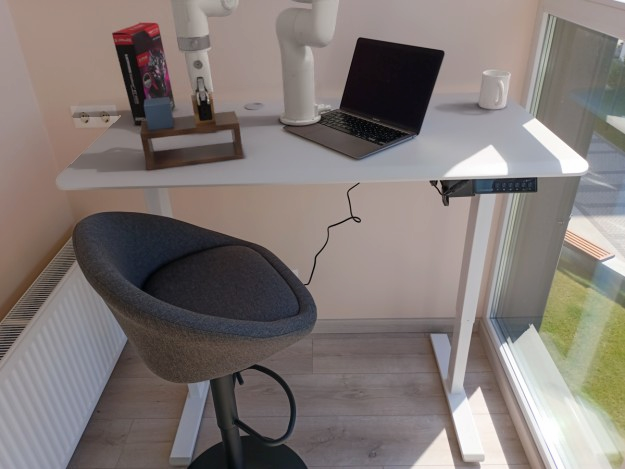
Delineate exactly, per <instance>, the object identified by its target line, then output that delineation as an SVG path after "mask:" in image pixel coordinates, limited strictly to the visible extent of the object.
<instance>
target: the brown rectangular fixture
mask: <svg viewBox="0 0 625 469" xmlns="http://www.w3.org/2000/svg"><path fill="white" fill-rule="evenodd" d="M215 119H216V122H213V123H204V124H196V122H195V116H194V115H185V116H177V117H173V123H174V127H173V128H165V129H156V130H149V129H148V124H147V121H142V123H141V125H140V130H139V135H140V140H141V145H142V150H143V154H144V159H145V162H146V167H147V170H148V171H151V170H159V169H166V168H167V169H168V168H174V167H183V166H184V167H185V166H192V165H200V164H206V163H207V164H208V163H216V162H222V161H223V162H225V161H230V160H239V159H244V154H243V144H242V137H241V128H240V121H239V119H238V116H237V113H236V112H235V110H232V111H224V112H215ZM228 130H229V131H231V140H232V141H230V142H221V143H212V144H205V145H204V144H203V145H197V146H188V147H178V148H170V149H164V150H163V149H162V150H154V145H153V140H154V139H160V138H161V139H162V138H168V137H178V136H186V135H195V134H196V135H197V134H205V133H211V132H221V131H228Z"/></svg>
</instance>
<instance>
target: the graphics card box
mask: <svg viewBox="0 0 625 469" xmlns="http://www.w3.org/2000/svg"><path fill="white" fill-rule="evenodd" d="M111 36H112V39H113V42H114V47H115V52H116V56H117V59H118V63H119V67H120V68H119V69H120V72H121V75H122V80H123V83H124V88H125V91H126V95H127V99H128V103H129V108H130V111H131V115H132V119H133V122H134V125H137V126H139V125H140V126H141V123H142V121H147V120H146V115H145V110H144V101H145V99H154V98H164V97H169V99H170V104H171V110H172V111H173V110H174V109H176V104H175V100H174V93H173V88H172V84H171V79H170V73H169V70H168V64H167V60H166V55H165V54H166V53H165V49H164V44H163V40H162V36H161V30H160V26H159V23H157V22H139V23H137V24H133V25H131V26H128V27H125V28H123V29H120V30H116V31H114V32H112V33H111Z"/></svg>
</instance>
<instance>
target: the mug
mask: <svg viewBox="0 0 625 469" xmlns="http://www.w3.org/2000/svg"><path fill="white" fill-rule="evenodd" d="M511 76H512V74H511V72H509V71H507V70H503V69H487V70H483V71H482V75H481V80H480V81H481V82H480V89H479V95H478V106H479V107H480V108H482V109H485V110H494V111H496V110H502V109H503V108H505V107H506V105H507V99H508V94H509V87H510V81H511Z"/></svg>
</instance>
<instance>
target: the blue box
mask: <svg viewBox="0 0 625 469" xmlns="http://www.w3.org/2000/svg"><path fill="white" fill-rule="evenodd" d="M144 110H145V115H146V120H147V124H148V129H149V130H156V129H165V128H173V127H174V123H173V118H174V115H173V110H171V104H170V99H169V97H164V98H154V99H145V101H144Z"/></svg>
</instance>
